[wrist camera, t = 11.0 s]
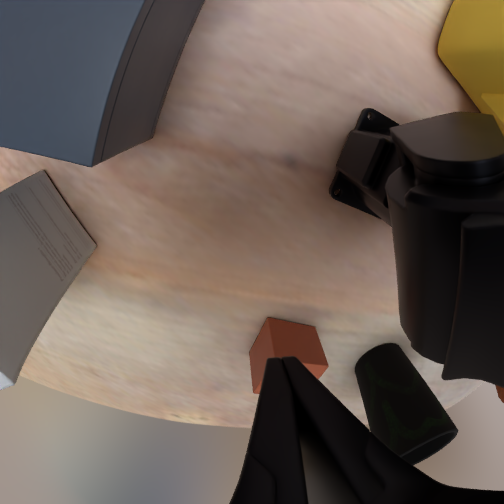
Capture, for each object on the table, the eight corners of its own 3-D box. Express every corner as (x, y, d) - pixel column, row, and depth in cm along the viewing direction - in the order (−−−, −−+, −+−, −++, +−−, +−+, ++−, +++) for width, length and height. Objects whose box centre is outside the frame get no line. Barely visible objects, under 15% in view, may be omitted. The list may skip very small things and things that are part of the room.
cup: (341, 389, 29) (371, 481, 19) (349, 346, 26) (393, 455, 15) (400, 373, 29) (439, 453, 19) (416, 328, 26) (472, 418, 15)
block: (315, 326, 24) (329, 366, 20) (293, 360, 26) (302, 398, 22) (267, 316, 23) (275, 358, 19) (248, 352, 25) (252, 393, 21)
